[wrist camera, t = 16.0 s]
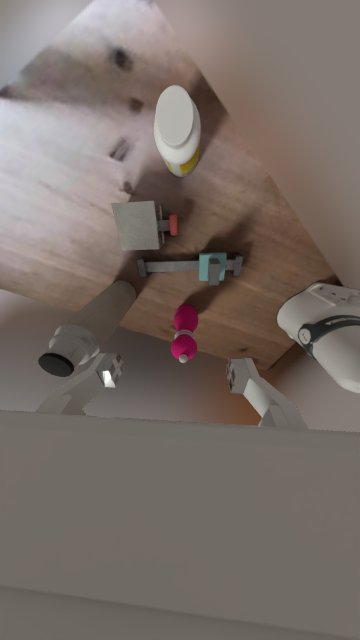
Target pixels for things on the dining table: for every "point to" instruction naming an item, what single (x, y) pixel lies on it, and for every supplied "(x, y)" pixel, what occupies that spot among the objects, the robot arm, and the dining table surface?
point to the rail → (184, 265)
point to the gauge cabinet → (139, 225)
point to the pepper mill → (185, 333)
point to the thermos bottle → (87, 330)
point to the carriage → (212, 267)
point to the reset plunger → (169, 224)
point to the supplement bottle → (177, 130)
